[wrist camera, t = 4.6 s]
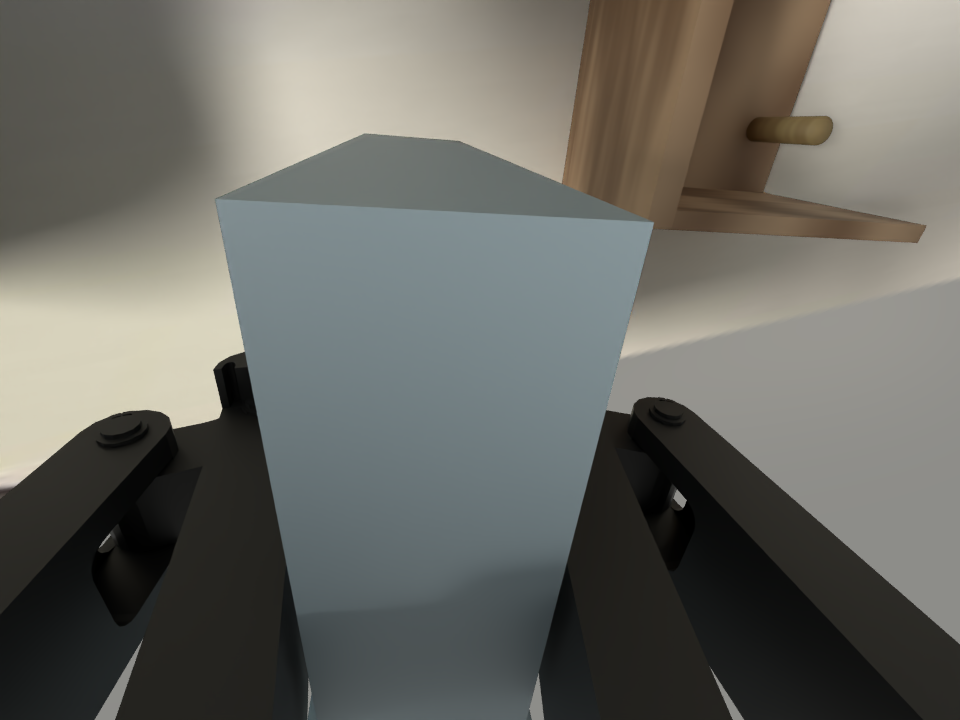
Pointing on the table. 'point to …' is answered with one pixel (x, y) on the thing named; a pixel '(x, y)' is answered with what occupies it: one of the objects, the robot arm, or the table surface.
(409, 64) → the table surface
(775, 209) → the cabinet
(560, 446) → the door
